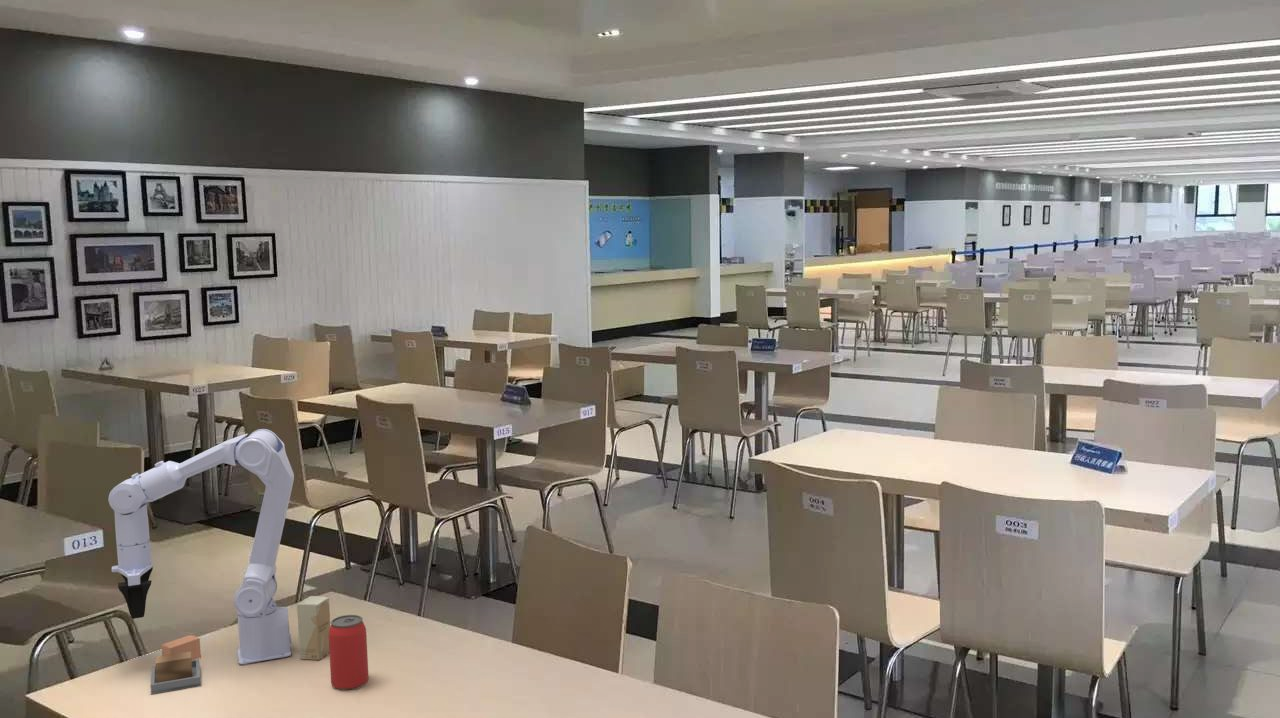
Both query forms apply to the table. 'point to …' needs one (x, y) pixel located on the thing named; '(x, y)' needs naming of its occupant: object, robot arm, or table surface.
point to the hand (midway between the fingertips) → (138, 611)
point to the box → (313, 627)
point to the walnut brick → (173, 667)
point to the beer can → (348, 652)
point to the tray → (178, 683)
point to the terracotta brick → (183, 646)
